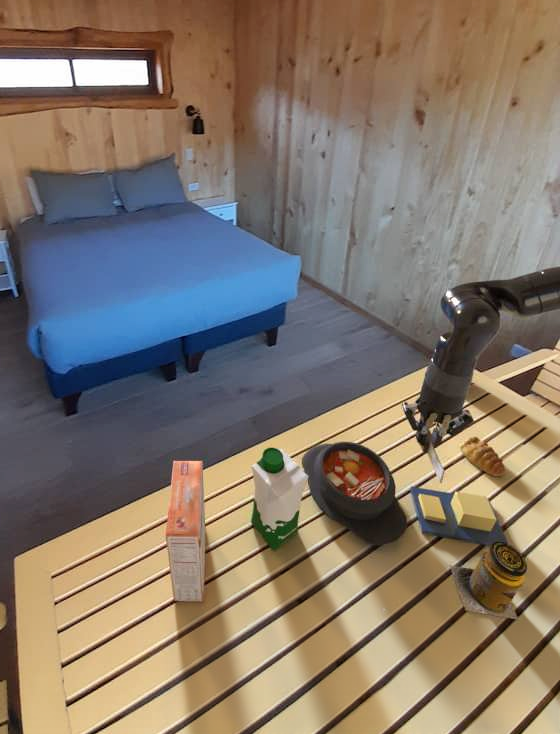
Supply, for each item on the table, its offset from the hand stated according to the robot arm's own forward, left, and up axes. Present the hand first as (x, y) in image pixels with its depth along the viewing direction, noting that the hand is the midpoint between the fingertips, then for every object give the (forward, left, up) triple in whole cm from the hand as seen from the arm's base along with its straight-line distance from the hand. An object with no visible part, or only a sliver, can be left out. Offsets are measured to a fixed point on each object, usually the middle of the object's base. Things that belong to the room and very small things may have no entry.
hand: (426, 443), depth 86 cm
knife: (0, +3, -1) cm, 3 cm away
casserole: (+15, +5, -14) cm, 21 cm away
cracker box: (+47, +26, -14) cm, 56 cm away
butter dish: (-8, +6, -14) cm, 17 cm away
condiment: (-7, +20, -14) cm, 26 cm away
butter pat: (-4, +6, -12) cm, 14 cm away
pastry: (-18, -11, -14) cm, 25 cm away
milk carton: (+31, +16, -14) cm, 38 cm away
